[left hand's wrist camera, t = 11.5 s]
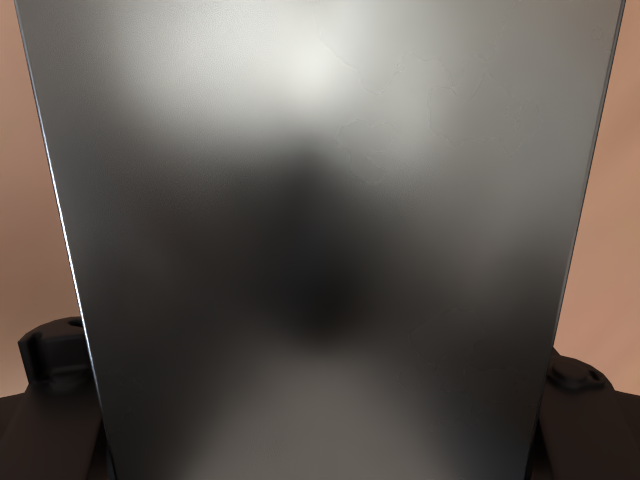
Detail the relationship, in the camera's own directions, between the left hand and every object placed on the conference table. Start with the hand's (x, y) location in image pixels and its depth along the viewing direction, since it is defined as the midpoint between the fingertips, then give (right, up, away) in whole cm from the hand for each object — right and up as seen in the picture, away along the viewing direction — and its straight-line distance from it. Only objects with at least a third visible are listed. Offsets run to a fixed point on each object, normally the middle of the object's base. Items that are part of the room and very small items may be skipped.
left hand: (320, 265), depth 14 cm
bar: (0, +7, -2) cm, 8 cm away
